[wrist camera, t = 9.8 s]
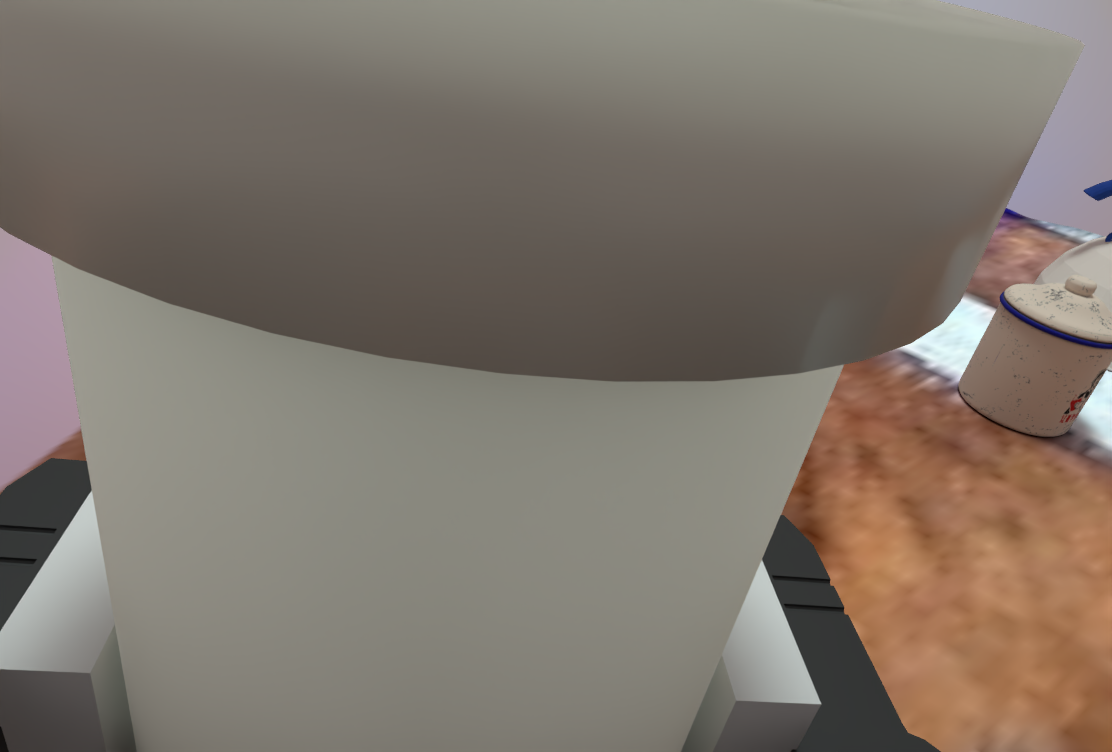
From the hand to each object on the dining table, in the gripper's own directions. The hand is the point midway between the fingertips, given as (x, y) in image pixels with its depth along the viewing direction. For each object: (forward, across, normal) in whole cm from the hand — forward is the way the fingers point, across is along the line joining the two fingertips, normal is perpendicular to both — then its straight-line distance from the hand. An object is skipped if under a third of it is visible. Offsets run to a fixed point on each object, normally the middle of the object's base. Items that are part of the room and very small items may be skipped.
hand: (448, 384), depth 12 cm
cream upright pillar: (-5, 0, -10) cm, 11 cm away
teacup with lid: (+41, +47, -22) cm, 67 cm away
